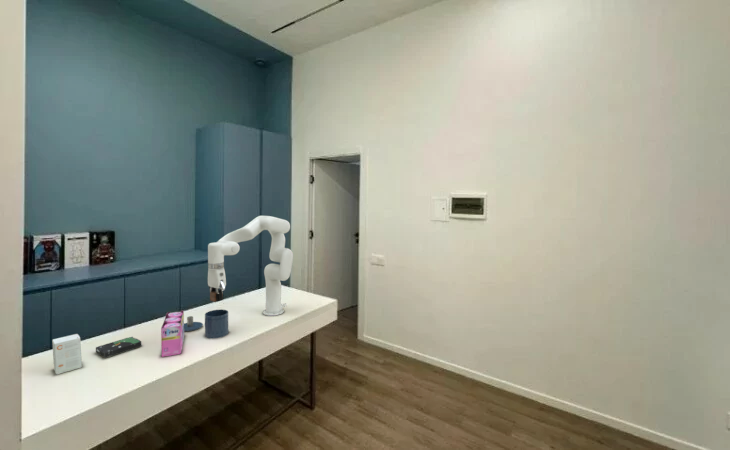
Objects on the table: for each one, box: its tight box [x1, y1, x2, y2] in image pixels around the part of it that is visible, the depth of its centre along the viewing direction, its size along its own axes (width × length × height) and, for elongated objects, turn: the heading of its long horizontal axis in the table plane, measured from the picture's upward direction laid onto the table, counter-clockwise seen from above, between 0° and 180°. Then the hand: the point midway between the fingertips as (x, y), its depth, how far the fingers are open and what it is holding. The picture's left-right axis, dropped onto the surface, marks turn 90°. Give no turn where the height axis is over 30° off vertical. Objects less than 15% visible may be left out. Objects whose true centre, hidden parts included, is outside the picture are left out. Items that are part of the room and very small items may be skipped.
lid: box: [184, 315, 204, 332], centre depth 177 cm, size 12×12×6 cm
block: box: [209, 290, 224, 303], centre depth 169 cm, size 4×4×4 cm
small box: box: [51, 333, 83, 375], centre depth 133 cm, size 8×6×13 cm
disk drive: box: [95, 336, 142, 359], centre depth 151 cm, size 10×3×15 cm
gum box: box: [160, 310, 185, 358], centre depth 156 cm, size 24×8×14 cm, turn 26°
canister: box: [204, 308, 229, 339], centre depth 170 cm, size 11×11×12 cm
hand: (216, 299), depth 169 cm, fingers closed on block, 4 cm apart
